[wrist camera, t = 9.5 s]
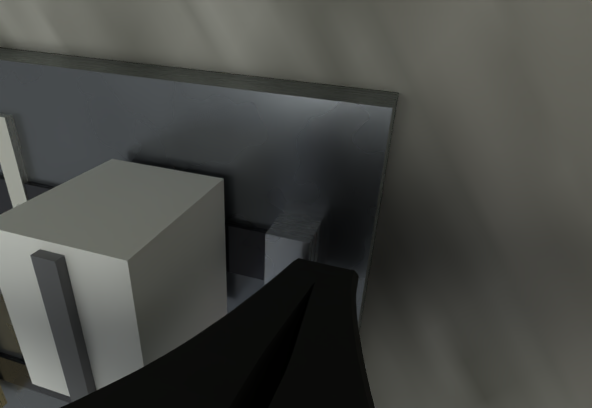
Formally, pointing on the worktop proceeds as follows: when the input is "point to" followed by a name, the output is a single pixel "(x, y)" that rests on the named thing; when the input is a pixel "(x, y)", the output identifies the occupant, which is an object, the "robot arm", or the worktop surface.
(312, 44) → the worktop surface
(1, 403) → the tan striped block
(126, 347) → the block
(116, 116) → the mixer panel
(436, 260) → the worktop surface
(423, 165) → the worktop surface
